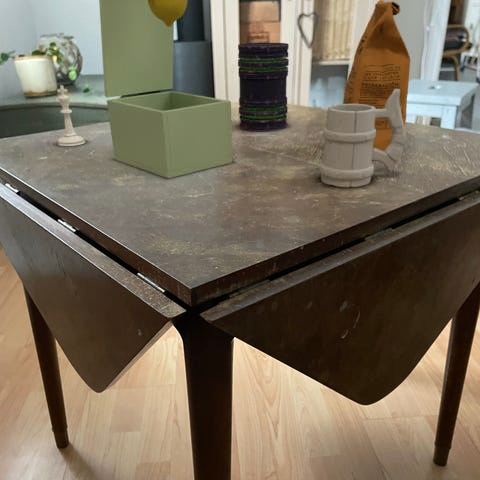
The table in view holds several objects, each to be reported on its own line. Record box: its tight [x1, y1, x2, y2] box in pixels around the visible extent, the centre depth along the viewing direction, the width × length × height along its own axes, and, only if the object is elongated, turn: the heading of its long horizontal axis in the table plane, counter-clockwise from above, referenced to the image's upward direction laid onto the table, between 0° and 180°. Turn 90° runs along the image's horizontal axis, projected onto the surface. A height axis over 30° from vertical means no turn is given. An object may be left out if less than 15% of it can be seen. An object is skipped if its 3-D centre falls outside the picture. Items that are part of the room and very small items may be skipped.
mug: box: [318, 89, 407, 188], centre depth 75 cm, size 8×12×12 cm, turn 95°
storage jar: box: [237, 42, 290, 132], centre depth 107 cm, size 10×10×15 cm
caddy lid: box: [98, 0, 175, 99], centre depth 85 cm, size 16×13×5 cm
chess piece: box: [56, 84, 86, 147], centre depth 98 cm, size 5×5×10 cm
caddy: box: [106, 90, 233, 179], centre depth 86 cm, size 16×13×9 cm
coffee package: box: [342, 0, 411, 151], centre depth 86 cm, size 10×12×22 cm
